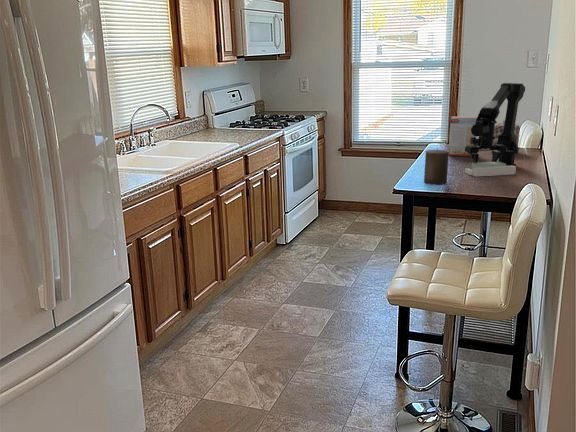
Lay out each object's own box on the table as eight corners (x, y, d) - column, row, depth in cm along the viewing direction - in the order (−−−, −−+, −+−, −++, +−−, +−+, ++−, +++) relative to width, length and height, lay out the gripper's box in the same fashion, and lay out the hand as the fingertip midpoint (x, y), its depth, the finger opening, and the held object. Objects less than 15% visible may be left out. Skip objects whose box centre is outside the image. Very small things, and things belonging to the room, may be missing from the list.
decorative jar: (490, 153, 314) (493, 120, 309) (496, 150, 323) (499, 118, 318) (512, 155, 308) (516, 122, 303) (518, 152, 317) (521, 120, 312)
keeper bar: (497, 170, 270) (498, 161, 269) (505, 173, 264) (506, 163, 263) (471, 172, 267) (471, 163, 266) (477, 175, 261) (478, 165, 260)
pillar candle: (447, 185, 242) (450, 150, 238) (424, 184, 244) (426, 149, 240) (445, 180, 251) (448, 146, 247) (423, 179, 253) (425, 146, 249)
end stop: (505, 170, 271) (505, 163, 270) (516, 174, 262) (516, 166, 261) (464, 172, 266) (465, 165, 265) (474, 176, 258) (475, 169, 257)
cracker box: (475, 154, 311) (478, 116, 305) (475, 156, 305) (478, 117, 299) (448, 153, 315) (451, 115, 309) (448, 155, 309) (450, 116, 304)
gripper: (495, 130, 274) (492, 162, 279) (460, 131, 270) (457, 163, 275) (509, 134, 263) (505, 167, 268) (472, 135, 260) (469, 169, 264)
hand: (483, 166), depth 269 cm, fingers open, 9 cm apart
